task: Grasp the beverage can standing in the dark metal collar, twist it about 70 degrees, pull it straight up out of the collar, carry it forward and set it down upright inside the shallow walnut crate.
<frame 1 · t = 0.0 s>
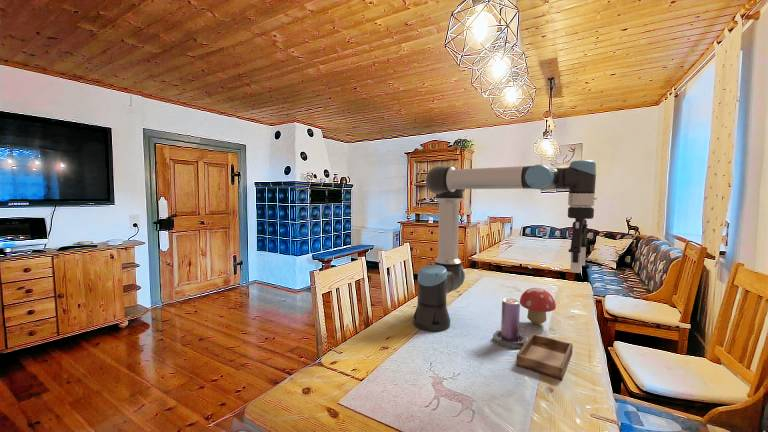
hand: (577, 268, 109), 28 cm above the table, fingers open, 13 cm apart
collar: (509, 341, 115), on the table
decorative mushroom: (536, 324, 131), on the table
crate: (545, 359, 103), on the table
beverage can: (509, 341, 115), resting in collar
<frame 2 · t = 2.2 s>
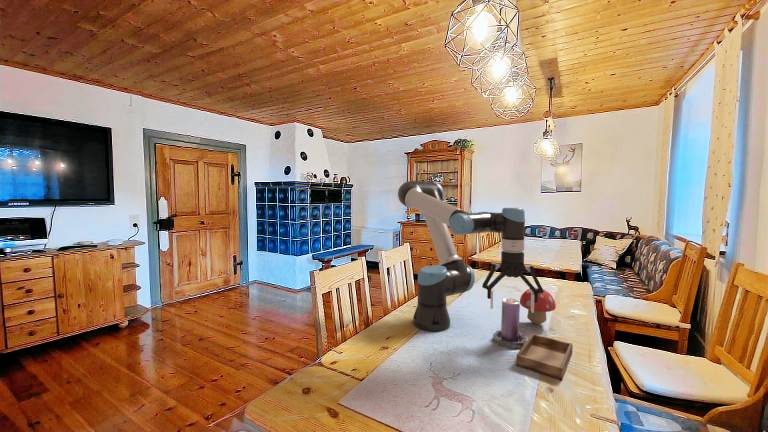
hand: (511, 309, 114), 12 cm above the table, fingers open, 13 cm apart
nothing on the table moved.
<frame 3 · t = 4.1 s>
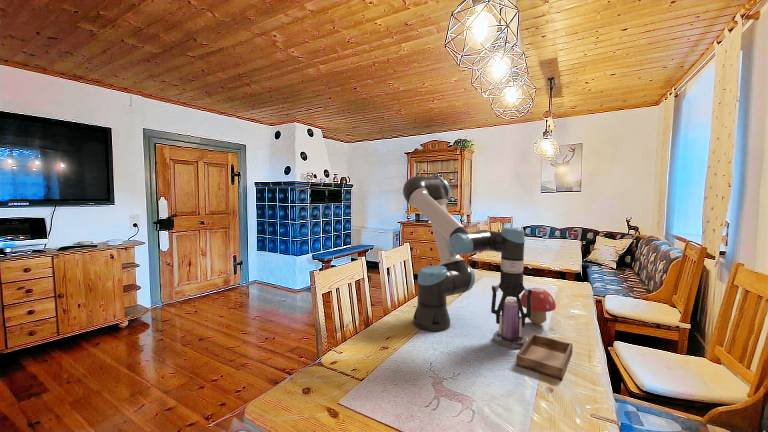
hand: (509, 333, 115), 3 cm above the table, fingers closed on beverage can, 6 cm apart
beverage can: (509, 341, 115), resting in collar, touching gripper
everything else where it was.
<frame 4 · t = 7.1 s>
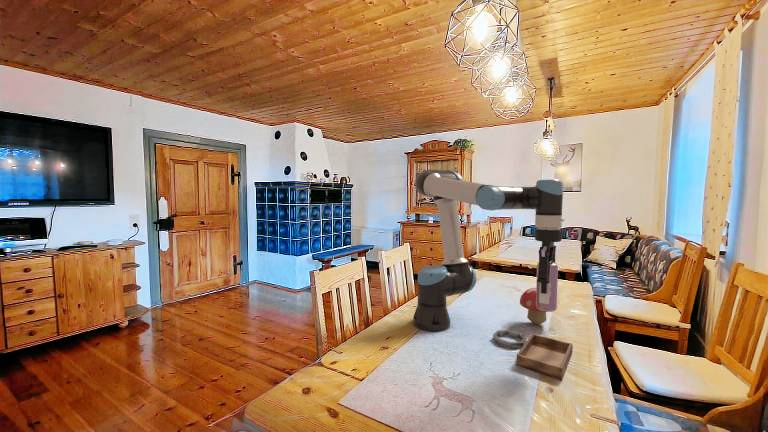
hand: (546, 300, 102), 19 cm above the table, fingers closed on beverage can, 6 cm apart
beverage can: (546, 309, 102), point 16 cm above the table, touching gripper
everything else where it was.
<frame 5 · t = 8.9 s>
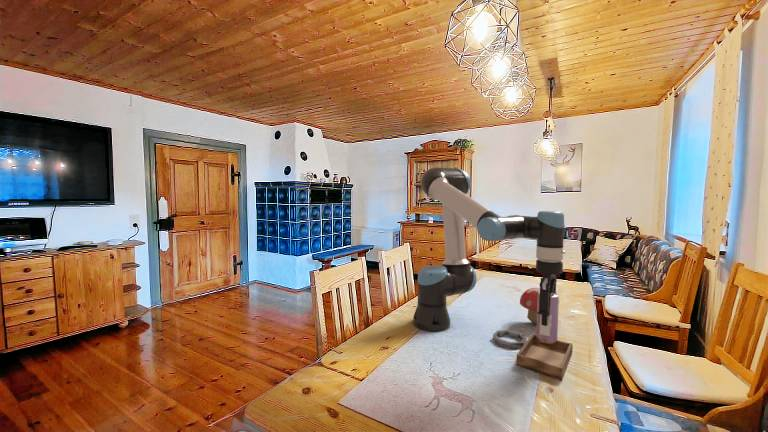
hand: (546, 331, 102), 10 cm above the table, fingers closed on beverage can, 6 cm apart
beverage can: (546, 340, 102), point 6 cm above the table, touching gripper
everything else where it was.
when the fingers open (5 cm above the table, at t = 10.6 s): beverage can drops 1 cm, resting on crate.
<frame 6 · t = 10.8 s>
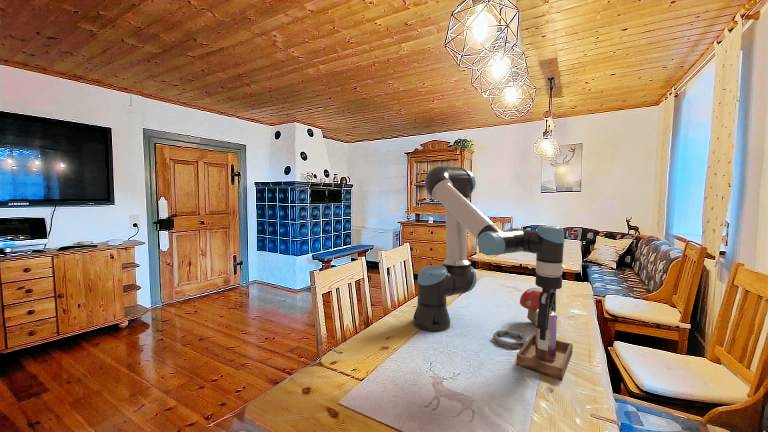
hand: (546, 343, 102), 5 cm above the table, fingers open, 9 cm apart
beverage can: (545, 357, 103), point 1 cm above the table, touching crate
everything else where it was.
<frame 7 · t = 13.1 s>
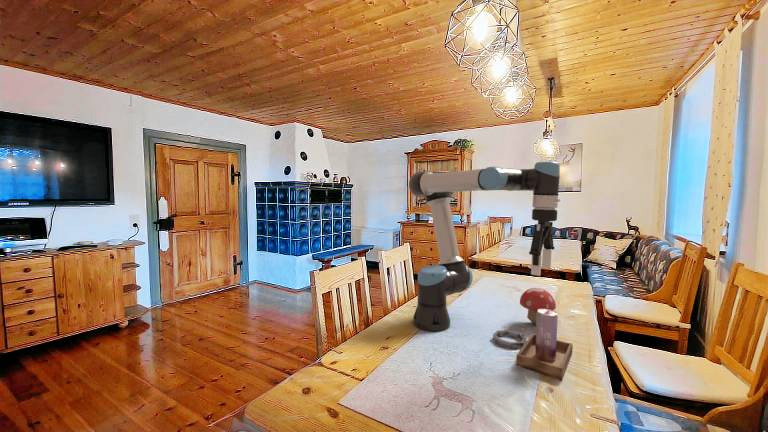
hand: (541, 271, 108), 27 cm above the table, fingers open, 13 cm apart
nothing on the table moved.
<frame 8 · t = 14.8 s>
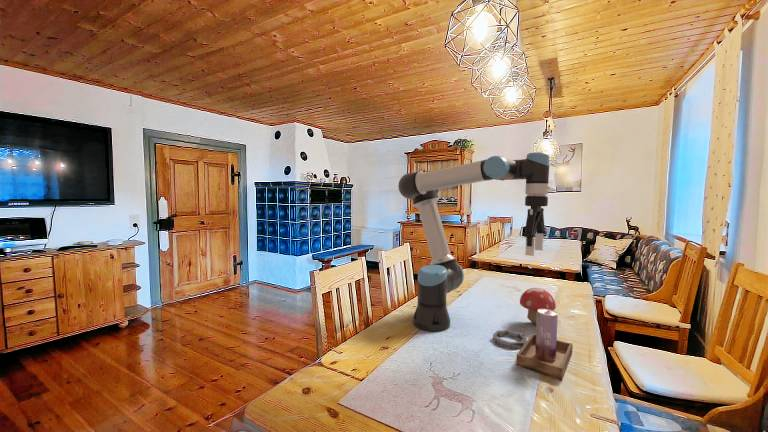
hand: (534, 252, 118), 32 cm above the table, fingers open, 13 cm apart
nothing on the table moved.
at the end: beverage can inside the target area on the crate (0.0 cm from its centre), point 0.6 cm above the crate's base; beverage can tilted 0°; the gripper is holding nothing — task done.
